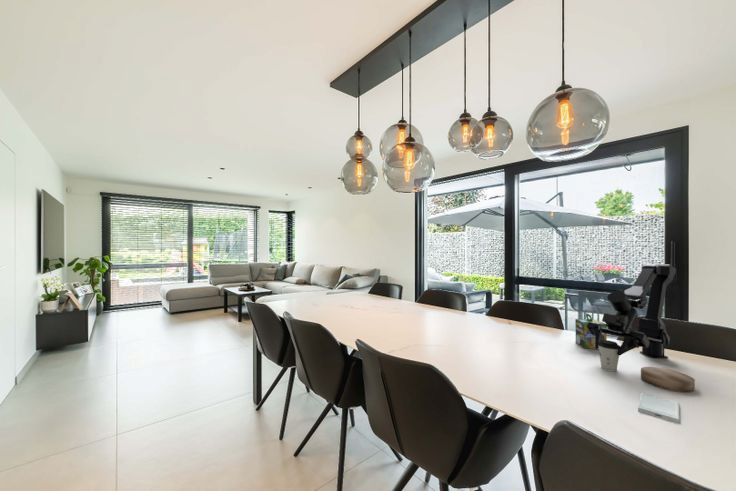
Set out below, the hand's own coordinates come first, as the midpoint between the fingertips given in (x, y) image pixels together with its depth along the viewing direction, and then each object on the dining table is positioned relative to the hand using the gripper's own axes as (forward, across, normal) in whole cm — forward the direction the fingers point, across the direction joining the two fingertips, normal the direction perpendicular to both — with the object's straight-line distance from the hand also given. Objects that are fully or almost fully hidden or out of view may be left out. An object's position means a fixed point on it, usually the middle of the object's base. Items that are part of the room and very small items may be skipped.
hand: (606, 351), depth 115 cm
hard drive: (+18, +22, -7) cm, 29 cm away
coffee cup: (+4, 0, +6) cm, 7 cm away
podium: (+1, +15, +8) cm, 17 cm away
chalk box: (-12, -18, +21) cm, 31 cm away
